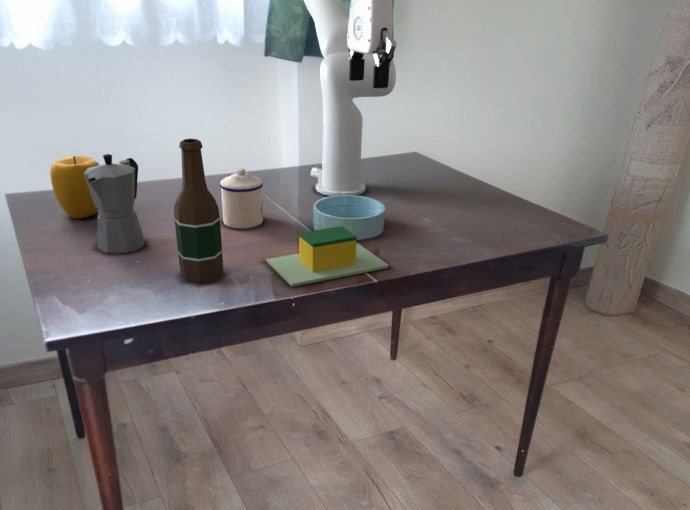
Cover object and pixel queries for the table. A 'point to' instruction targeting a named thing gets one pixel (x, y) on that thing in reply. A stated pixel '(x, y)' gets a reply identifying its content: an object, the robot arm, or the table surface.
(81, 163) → the apple
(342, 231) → the sponge
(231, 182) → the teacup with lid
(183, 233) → the beer bottle
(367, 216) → the bowl
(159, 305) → the table surface
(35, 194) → the table surface
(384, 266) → the mat
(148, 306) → the table surface
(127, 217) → the coffeepot
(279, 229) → the table surface
